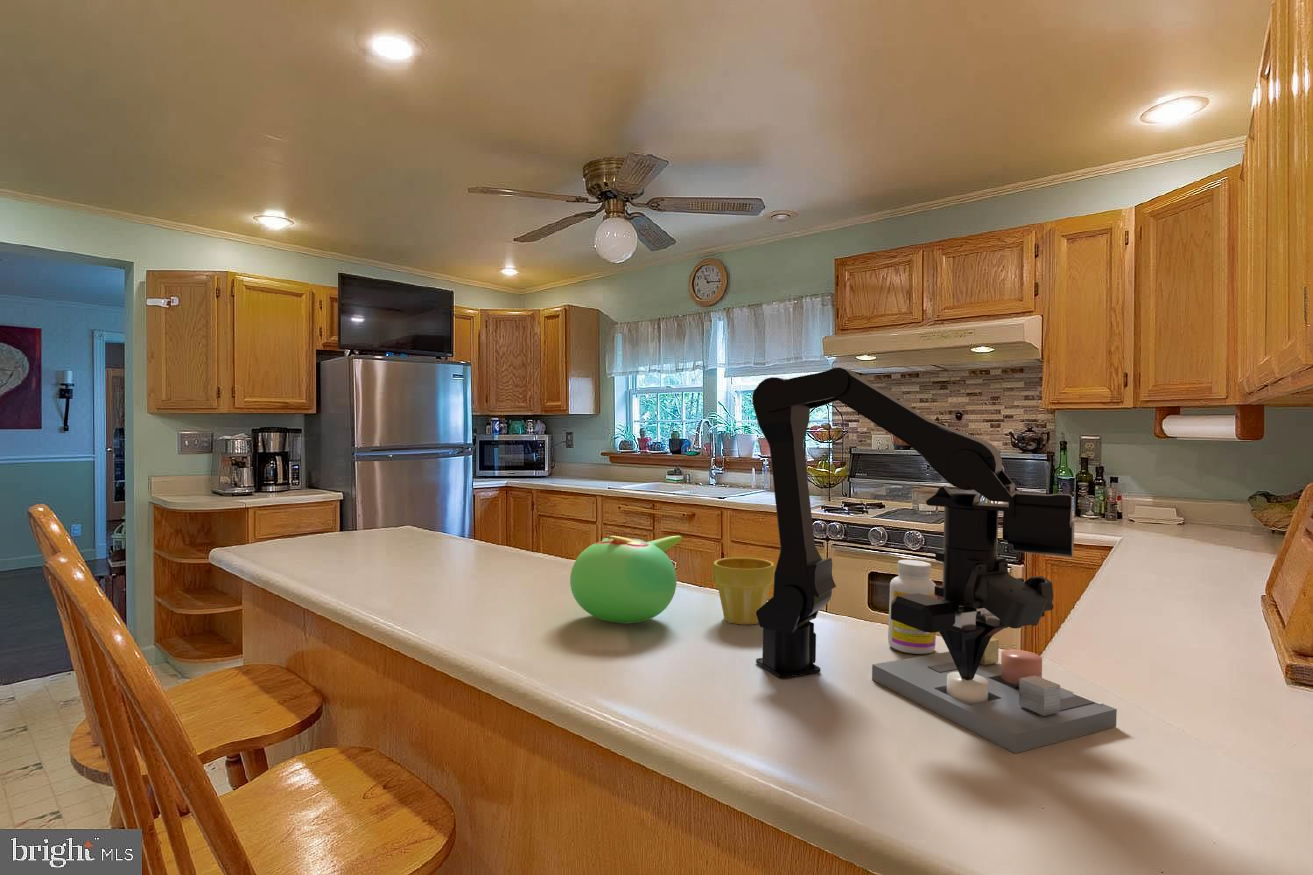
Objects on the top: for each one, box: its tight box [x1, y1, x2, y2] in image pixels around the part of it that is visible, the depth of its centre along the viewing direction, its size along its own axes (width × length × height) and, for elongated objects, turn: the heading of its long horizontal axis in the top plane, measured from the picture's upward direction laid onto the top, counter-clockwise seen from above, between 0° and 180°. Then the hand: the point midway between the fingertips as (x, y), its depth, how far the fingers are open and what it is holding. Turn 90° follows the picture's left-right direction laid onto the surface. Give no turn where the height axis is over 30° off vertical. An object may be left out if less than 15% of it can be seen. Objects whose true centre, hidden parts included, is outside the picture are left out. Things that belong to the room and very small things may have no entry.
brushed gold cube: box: [980, 636, 1000, 665], centre depth 88 cm, size 2×3×3 cm
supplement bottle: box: [887, 559, 938, 655], centre depth 99 cm, size 7×7×13 cm
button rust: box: [1000, 648, 1043, 685], centre depth 81 cm, size 4×4×3 cm
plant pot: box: [712, 557, 775, 626], centre depth 113 cm, size 10×10×10 cm
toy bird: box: [569, 535, 683, 624], centre depth 112 cm, size 18×17×15 cm
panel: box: [871, 651, 1118, 754], centre depth 80 cm, size 16×21×2 cm
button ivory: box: [947, 672, 988, 705], centre depth 78 cm, size 4×4×3 cm
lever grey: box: [1018, 675, 1061, 716], centre depth 73 cm, size 2×3×3 cm
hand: (967, 678), depth 78 cm, fingers closed, pressing on button ivory
